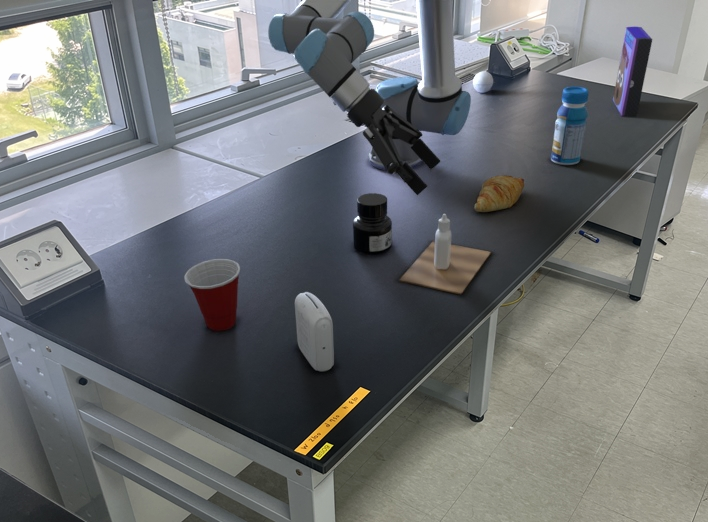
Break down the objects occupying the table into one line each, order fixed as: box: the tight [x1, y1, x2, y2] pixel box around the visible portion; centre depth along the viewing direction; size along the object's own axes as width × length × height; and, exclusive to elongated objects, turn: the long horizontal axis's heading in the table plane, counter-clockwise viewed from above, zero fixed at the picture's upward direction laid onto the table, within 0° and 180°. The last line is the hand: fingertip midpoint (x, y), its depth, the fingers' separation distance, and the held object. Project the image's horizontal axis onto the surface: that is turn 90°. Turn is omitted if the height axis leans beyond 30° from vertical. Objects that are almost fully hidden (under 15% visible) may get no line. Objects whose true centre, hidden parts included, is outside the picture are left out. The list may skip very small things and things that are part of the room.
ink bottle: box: [352, 192, 393, 256], centre depth 166 cm, size 10×9×12 cm
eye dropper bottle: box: [434, 213, 452, 270], centre depth 157 cm, size 4×6×12 cm
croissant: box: [474, 174, 525, 213], centre depth 186 cm, size 21×10×8 cm, turn 139°
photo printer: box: [294, 291, 335, 372], centre depth 131 cm, size 10×4×12 cm, turn 24°
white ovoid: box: [472, 70, 494, 94], centre depth 263 cm, size 10×7×7 cm
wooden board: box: [398, 240, 492, 296], centre depth 160 cm, size 20×14×1 cm
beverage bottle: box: [550, 86, 590, 166], centre depth 203 cm, size 8×8×20 cm
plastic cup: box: [183, 258, 241, 332], centre depth 141 cm, size 11×11×12 cm
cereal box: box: [612, 26, 653, 118], centre depth 238 cm, size 17×5×24 cm, turn 172°
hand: (429, 177), depth 150 cm, fingers open, 13 cm apart
